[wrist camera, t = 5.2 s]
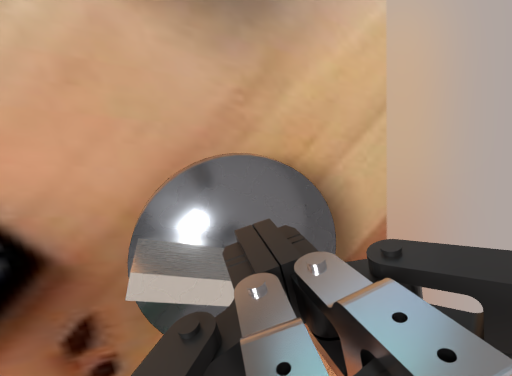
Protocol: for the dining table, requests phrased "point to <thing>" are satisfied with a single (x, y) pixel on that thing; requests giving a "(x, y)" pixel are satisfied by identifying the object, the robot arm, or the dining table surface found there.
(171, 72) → the dining table surface
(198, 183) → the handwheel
